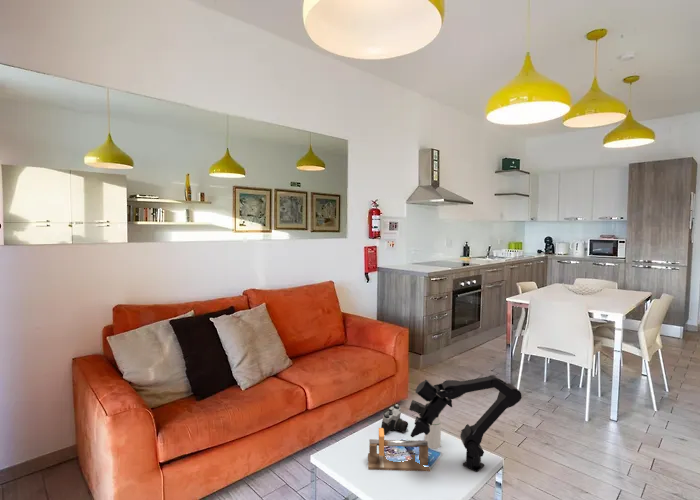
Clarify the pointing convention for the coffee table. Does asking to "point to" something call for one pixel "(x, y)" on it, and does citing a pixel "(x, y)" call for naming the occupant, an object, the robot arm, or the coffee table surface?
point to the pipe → (400, 443)
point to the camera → (393, 420)
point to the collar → (381, 441)
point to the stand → (383, 464)
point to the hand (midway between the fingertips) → (411, 436)
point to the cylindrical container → (434, 432)
